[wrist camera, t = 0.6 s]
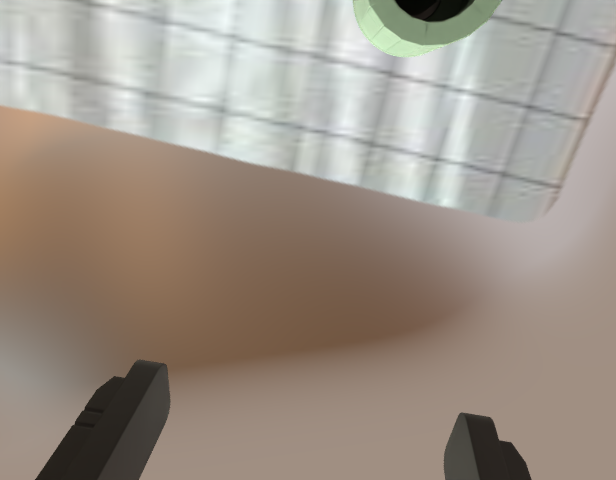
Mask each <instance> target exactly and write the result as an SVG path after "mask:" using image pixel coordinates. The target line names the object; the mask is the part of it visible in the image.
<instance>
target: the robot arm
mask: <svg viewBox="0 0 616 480" xmlns="http://www.w3.org/2000/svg"><path fill="white" fill-rule="evenodd" d="M169 408H170V393H169V381H168V370H167V365H166V364H164V363H157V362H151V361H145V360H137V361H136V362H135V363H134V365H133V366H132V368H131V369H130V371H129V373H128V374H127V376H126V377H125V378H122V377H116V376H114V377H113V378H111V379H110V380H109V381H108V382H106V383H105V384H104V385H103V386H101V387H100V388H99V389H97V390H96V392H95V393H94V395H93V396H92V398H91V399H90V400H89V402H88V403H87V405H86V406H85V410H84V411H82V412H81V414H80V415H79V417H78V418H77V419H76V421H75V425H73V426H72V427H71V429H70V430H69V431H68V433H67V434H66V436H65V437H64V438H63V440H62V441H61V443H60V444H59V446H58V447H57V449H56V450H55V452H54V453H53V455H52V456H51V457H50V459H49V460H48V462H47V463H46V465H45V466H44V468H43V469H42V471H41V472H40V474H39V475H38V476H37V478H36V479H35V480H139V478H140V476H141V474H142V472H143V470H144V467H145V465H146V463H147V461H148V459H149V457H150V455H151V453H152V451H153V448H154V446H155V444H156V442H157V440H158V438H159V436H160V434H161V431H162V429H163V427H164V425H165V423H166V420H167V417H168V414H169ZM444 473H445V480H531V477H530V474H529V471H528V468H527V465H526V462H525V461H524V460H523V458H522V457H521V456H520V454H519V453H518V451H517V450H516V449H515V447H514V446H513V444H512V443H511V442H505V441H499V439H498V435H497V432H496V428H495V425H494V422H493V420H492V419H491V418H490V417H486V416H480V415H474V414H468V413H460V414H459V416H458V418H457V420H456V423H455V425H454V428H453V430H452V433H451V435H450V438H449V441H448V443H447V446H446V449H445V454H444Z"/></svg>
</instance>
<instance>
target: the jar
mask: <svg viewBox="0 0 616 480" xmlns="http://www.w3.org/2000/svg"><path fill="white" fill-rule="evenodd" d="M501 1H502V0H441V3H440V5H439V7H438V8H437V10H436V11H435V12H434V13H433V14H432V15H431V16H430V17H429V18H427V19H426V20H420V19H417V18H414V17H412V16H410V15H409V14H408V13H406V12H405V11H404V10H402V9H401V8H400V7H399V6H398V4H397V3H396V1H395V0H353V7H354V13H355V17H356V20H357V23H358V25H359V27H360V29H361V31H362V32H363V34H364V35H365V37H366V38H367V39H368V40H369V42H371V43H372V44H373V45H374V46H375V47H376V48H378V49H379V50H381V51H383V52H385V53H387V54H390V55H393V56H398V57H414V56H420V55H423V54H425V53H428V52H431V51H433V50H436V49H438V48H441V47H443V46H446V45H448V44H451V43H453V42H456V41H458V40H461V39H463V38H466V37H467V36H469V35H470V34H472V33H473V32H474V31H475V30H477V29H478V28H479V27H480V26H482V25H483V24H484V23H486V22H487V20H489V18H490V17H491V15H492V14H493V13H494V11H495V10H496V8H497V7H498V6H499V4H500V3H501Z"/></svg>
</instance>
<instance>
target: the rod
mask: <svg viewBox="0 0 616 480" xmlns="http://www.w3.org/2000/svg"><path fill="white" fill-rule="evenodd" d="M395 1H396V3H397V4H398V6H399V7H400V8H401V9H402V10H404V11H405V12H406V13H408V14H409V15H410V16H412V17H414V18H417V19H420V20H426V19H427V18H429V17H430V16H431V15H432V14H433V13H434V12H435V11H436V10H437V8H438V7H439V5H440V3H441V0H395Z"/></svg>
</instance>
